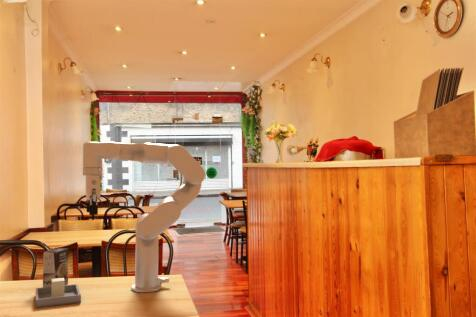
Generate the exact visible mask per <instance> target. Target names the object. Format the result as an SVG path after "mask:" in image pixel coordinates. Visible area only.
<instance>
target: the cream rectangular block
mask: <svg viewBox="0 0 476 317" xmlns="http://www.w3.org/2000/svg"><path fill="white" fill-rule="evenodd" d="M64 289H65V280H64V278H55V279H52V289H51V297H61V296H64Z"/></svg>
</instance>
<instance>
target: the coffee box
mask: <svg viewBox="0 0 476 317" xmlns="http://www.w3.org/2000/svg"><path fill="white" fill-rule="evenodd" d="M42 258H43V259H42V261H43V262H42V288H43V287H52V279H55V278H64V280H65V285H69V248H68V247H67V248H65V247H59V248H58V247H55V248H52V249H49V250H46V251H43V257H42Z"/></svg>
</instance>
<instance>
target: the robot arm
mask: <svg viewBox="0 0 476 317" xmlns="http://www.w3.org/2000/svg"><path fill="white" fill-rule="evenodd" d="M103 159H104V160H110V161H112V160H113V161H114V160H116V161H130V162H139V163H144V164H161V165H172V166H173V167H174V168H175V170H176V171H178V173H179V174H181V176H183V180H182V183H181V184H180V186H178V187H177V188H176V189H175V190H174V191H173V192H171V193H170V194H169V195H167V196H166V197H165V198H163V199H162V200H160V201H159V202H158V203H157V206H156V207H155V208H154V209H153V210H151V212H149V213H142V214H141V215H140V216H139V217H138V218H137V219H136V222H135V226H134V227H135V252H134V253H135V254H134V255H135V258H134V259H135V261H134V263H135V265H134V268H135V269H134V271H135V272H134V277H135V278H134V283H133V284H132V285H131V287H130V288H131V291H133V292H135V293H153V292H158V291H160V290H161V289H162V286H163V285H162V284H166V283H169V282H170V278H169V277H159V236H160V235H161V234H162V233H163V232H165V231H166V230H168V229H169V228H170V227H172V226H173V225H174V224H175V223H176V222H178V220H179V219H180V218H181V215H182V211H183V210H184V209H185V208H186V207H188V206H189V205H190V204H191V203H192V202H194V200H195V199H196V198H197V197H198V195H199V194H200V191H201V188H202V184H203V183H202V182H203V181H205V178H206V172H205V171H206V170H205V169H204V167H203V166H202V165H201V164H200V163H199V161H197V159H195V158H194V157H193V156H192V154H190V152H189V151H187V149H186V148H185V147H184V146H183V145H180V144H170V143H169V144H168V143H167V144H166V143H151V142H139V143H126V142H116V141H105V142H99V141H85V142H84V143H83V145H82V176H84V177H85V198H86V212H87V213H88V215H89V216H97V215H99V206H98V200H101V176H102V175H103Z"/></svg>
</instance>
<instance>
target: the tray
mask: <svg viewBox="0 0 476 317" xmlns="http://www.w3.org/2000/svg"><path fill="white" fill-rule="evenodd" d="M51 289H52V287H43V286H42V287H36V288H35V309H39V308H40V309H41V308H49V307H56V306H57V307H58V306H63V305H74V304H81V303H82V294H81V292H80V288H79V285H78V283H76V284H68V285H65V289H64V296H61V297H51Z"/></svg>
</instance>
